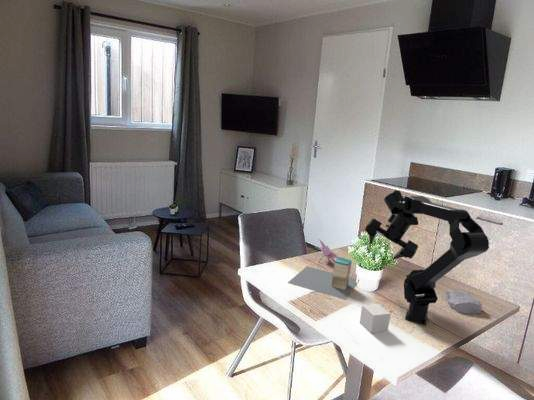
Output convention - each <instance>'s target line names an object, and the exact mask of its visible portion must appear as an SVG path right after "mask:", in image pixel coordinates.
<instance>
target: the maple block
mask: <svg viewBox="0 0 534 400" xmlns="http://www.w3.org/2000/svg"><path fill="white" fill-rule="evenodd" d="M334 260H335V263H334V262H333V263H334V264H333V270H332V271H333V272H332V273H333V278H332V286H333V287H336V288H340V289H344V290H345V289H346V287H347V286H348V283H349V277H350V275H351V268H352V261H353V260H352V259H349V258H346V257H342V256H338V258H335V259H334Z"/></svg>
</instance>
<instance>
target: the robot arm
mask: <svg viewBox="0 0 534 400" xmlns="http://www.w3.org/2000/svg"><path fill="white" fill-rule="evenodd" d="M383 201H384V203H385V206H386V207H387V209H388V210H389V212H390V213H391V215H390V217H389V218H388V220H387V223H389V226H388V227H387V228H386V229H384V228H383V227H381V225H382V222H381V221H379V220H377V219H376V218H371V219H370V221H369V222H368V223H367V225H366V226H365V228H364V230H365V232H366V233H367V235H368V238H369V245H370V244H372V245H373V243H374V242H375V239H376V236H377V234H379V235H381V236H383V237H384V238H385V239H388V240H389V241H390V242H392V243H394V244H396V245H398V246H400V247H401V248H400V249H399V250H398V251H397V252H396V253H394V255H393V257H392V259H393V260H392V259H391V260H392V261H394V260H398V259H400V258H406V259H407V258H408V259H413V257H414V256H415V255H416V253H417V251H418V249H419V245H418V244H417V243H415V242H413V241H411V240H410V239H408V241H407V242H406V241H405V240H404V239H402V238H403V237H404V236H405V234H406V233H407V231H408V230H409V228H410V227H411V226H418V225H419V221H418V217H417V216H416V215H415V214H417V215H425V216H429V217H432V218H436V219H439V220H442V221H446V222H448V225H449V236H450V238H451V241H450V244H449V249H448V250H447V251H445V252H444V253H443V254H442V255H440V256H438V258H437V259H436V260H434V261H433V262H432V263H431V264H430V265H428V266H427V267H426V268H425V269H413V270H411V272H409V274H406V275H405V279H404V281H403V292H404V293H403V295H404V299H405V300H406V303H409V305H408V309H407V310H406V314H405V317H404V319H405V320H407V321H410V322H413V323H418V324H420V325H424V326H427V323H428V320H429V319H428V318H429V315H428V312H429V307H430V304H436V303H437V301H438V299H439V298H438V296H437V293H436V290H435V288H436V286H437V285H436V283H437V282H438V281H439V280H441V278H443V277H444V276H445V275H447V274H448V273H449V272H450V271H452V270H453V269H454V268H456V267H457V266H459V265H460V264H461V263H462V262H463V261H465V260H469V259H471V258H474V257H478V256H479V255H482V254H484V253H486V252H487V251H488V250H489V249H490V246H489V244H490V243H489V242H490V241H489V238H488V236H487V235H486V233H485V232H484V230H483V228H482V226H480V225H479V223H477V222H476V221H475V220H474V219H473V218H472V216H471V215H470V213H469V212H468V211H467V210H466V209H463V208H461V209H459V208H455V207H450V206H448V205H443V204H438V203H435V202H432V201H431V200H430V199H429V198H427V197H425V196H423V195H422V196H421V195H405V196H403V194H402V193H401V191H400V190H393V192H391V193H389V194H387V195H386V196H385V197H384V199H383ZM460 224H461V226H462V227H463V228H464V229H466V231H462V230H461V229H460ZM373 241H374V242H373Z"/></svg>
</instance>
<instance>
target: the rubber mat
mask: <svg viewBox="0 0 534 400" xmlns="http://www.w3.org/2000/svg"><path fill="white" fill-rule="evenodd" d="M332 278H333V272H330V271H327V270H324V269H323V270H322V269H319V268H315V267H311V266H307V265H306V266H305V267H304V268H303V269H302V270H301V271H299V272H298V273H297V274H296V275H295V276H294V277H292V278H291V279H289V281H288V282H287V284H290V285H293V286H298V287H300V288H304V289H307V290H310V291H314V292H318V293H322V294H324V295H328V296H332V297H335V298H337V299H342V300H347V298H348V297H349V296H350V295H351V293H352V292H353V290H354V289H355V288H356V286H357V285H358V283H357V284H356V279H357V278H353V277H350V276H349V283H348V286H347V287H346V289H345V290H344V289H340V288H336V287H333V286H332Z"/></svg>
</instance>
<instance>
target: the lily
mask: <svg viewBox="0 0 534 400" xmlns="http://www.w3.org/2000/svg"><path fill="white" fill-rule="evenodd" d="M318 241H319V242H320V245H321V246H318V249H319V250H321V251H322V256H321V258H320V259H319V261H318V263H320V262H321V260H322V259H323V258H324V257H325V258H326V257H327V258H326V259H328V260H332V262H333V263H335V260H336V259H337V258H338V257H339V256H338V255H337V254H336V253H335V252H333V251H332V250H331V249H330V247H329V246H328V245H325V243H324V242H323V241H322V240H321V239H320V238H319V239H318Z"/></svg>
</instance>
